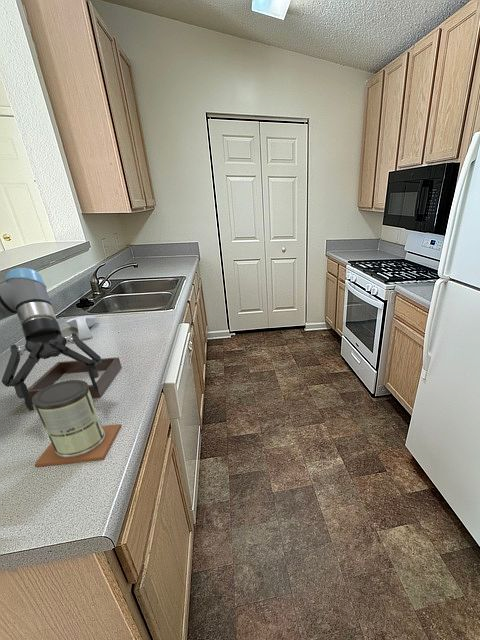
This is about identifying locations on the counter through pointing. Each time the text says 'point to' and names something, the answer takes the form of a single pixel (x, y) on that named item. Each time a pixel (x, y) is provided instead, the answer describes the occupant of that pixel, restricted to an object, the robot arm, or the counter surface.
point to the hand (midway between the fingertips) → (65, 399)
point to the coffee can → (69, 417)
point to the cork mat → (96, 454)
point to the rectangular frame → (63, 367)
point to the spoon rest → (83, 325)
